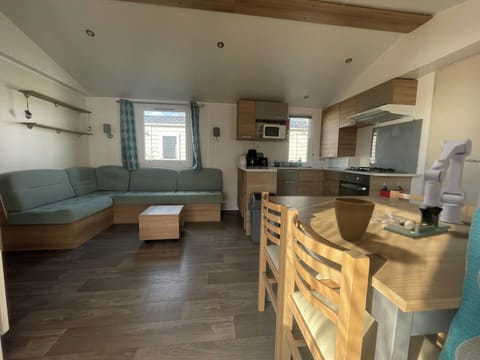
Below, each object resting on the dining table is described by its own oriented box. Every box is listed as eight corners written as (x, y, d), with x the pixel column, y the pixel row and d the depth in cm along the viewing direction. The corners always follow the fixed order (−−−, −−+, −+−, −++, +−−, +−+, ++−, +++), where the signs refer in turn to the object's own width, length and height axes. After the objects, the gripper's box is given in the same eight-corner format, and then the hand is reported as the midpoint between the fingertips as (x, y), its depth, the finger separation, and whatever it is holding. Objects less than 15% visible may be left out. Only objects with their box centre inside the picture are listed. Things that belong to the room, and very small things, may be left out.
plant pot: (379, 247, 76) (382, 205, 74) (336, 243, 79) (339, 202, 77) (363, 233, 91) (366, 197, 89) (328, 230, 94) (330, 196, 92)
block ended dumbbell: (425, 223, 102) (426, 213, 101) (437, 226, 97) (439, 216, 97) (407, 226, 97) (408, 216, 96) (419, 229, 92) (420, 219, 92)
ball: (403, 219, 96) (401, 227, 96) (407, 221, 92) (406, 229, 92) (413, 220, 95) (411, 228, 95) (418, 222, 91) (416, 231, 91)
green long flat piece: (428, 222, 109) (429, 216, 108) (459, 229, 97) (459, 223, 97) (383, 229, 96) (384, 223, 96) (412, 238, 85) (413, 231, 85)
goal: (396, 226, 97) (397, 218, 97) (418, 233, 89) (419, 224, 88) (387, 228, 95) (388, 219, 94) (409, 235, 86) (410, 225, 86)
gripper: (431, 192, 103) (428, 218, 105) (413, 193, 98) (410, 220, 100) (449, 194, 97) (446, 222, 98) (431, 196, 92) (428, 225, 93)
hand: (429, 222), depth 98 cm, fingers closed on block ended dumbbell, 4 cm apart
